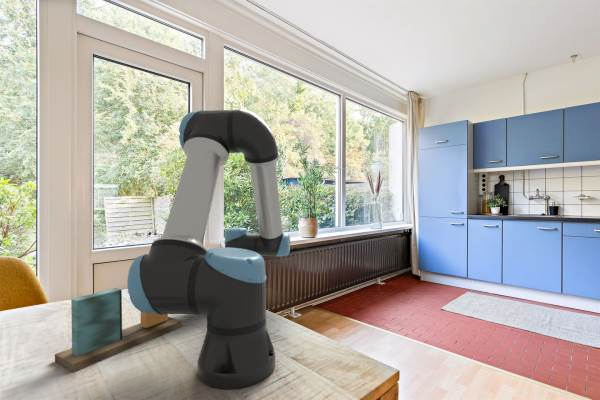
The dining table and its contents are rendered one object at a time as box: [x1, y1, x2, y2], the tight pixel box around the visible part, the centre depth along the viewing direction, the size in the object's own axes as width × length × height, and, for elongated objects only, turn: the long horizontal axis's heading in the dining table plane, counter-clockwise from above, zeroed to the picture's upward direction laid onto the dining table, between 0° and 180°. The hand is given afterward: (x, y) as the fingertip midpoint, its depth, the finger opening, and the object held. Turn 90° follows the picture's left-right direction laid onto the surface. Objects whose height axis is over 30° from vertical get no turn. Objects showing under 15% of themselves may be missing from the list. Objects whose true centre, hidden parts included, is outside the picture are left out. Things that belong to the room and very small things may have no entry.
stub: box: [140, 311, 169, 328], centre depth 79 cm, size 6×2×11 cm, turn 148°
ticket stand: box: [54, 287, 182, 373], centre depth 73 cm, size 25×8×13 cm, turn 148°
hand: (143, 302), depth 77 cm, fingers closed on stub, 2 cm apart
